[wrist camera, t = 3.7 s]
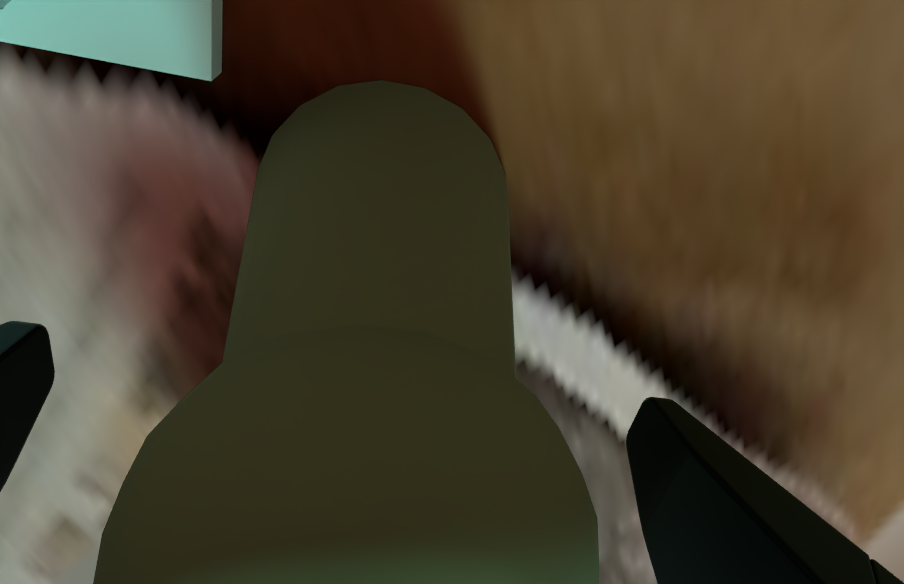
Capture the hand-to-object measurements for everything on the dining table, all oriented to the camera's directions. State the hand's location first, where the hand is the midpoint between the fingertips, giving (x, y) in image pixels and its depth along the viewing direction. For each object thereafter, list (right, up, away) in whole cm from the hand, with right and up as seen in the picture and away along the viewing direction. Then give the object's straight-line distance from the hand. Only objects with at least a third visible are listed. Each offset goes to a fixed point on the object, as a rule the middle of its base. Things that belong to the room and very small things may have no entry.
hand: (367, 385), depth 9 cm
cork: (0, +4, +6) cm, 7 cm away
